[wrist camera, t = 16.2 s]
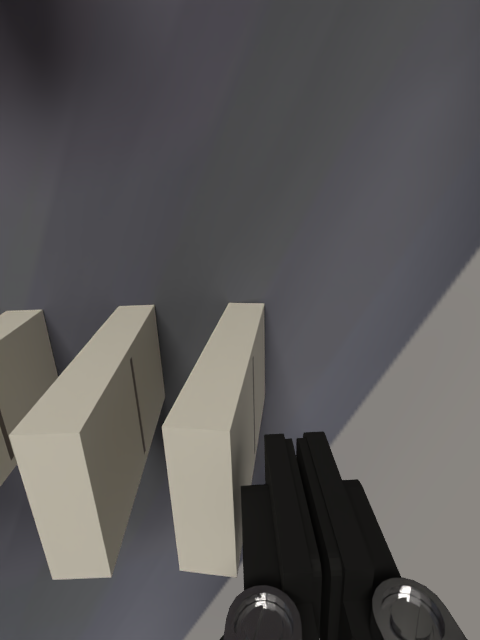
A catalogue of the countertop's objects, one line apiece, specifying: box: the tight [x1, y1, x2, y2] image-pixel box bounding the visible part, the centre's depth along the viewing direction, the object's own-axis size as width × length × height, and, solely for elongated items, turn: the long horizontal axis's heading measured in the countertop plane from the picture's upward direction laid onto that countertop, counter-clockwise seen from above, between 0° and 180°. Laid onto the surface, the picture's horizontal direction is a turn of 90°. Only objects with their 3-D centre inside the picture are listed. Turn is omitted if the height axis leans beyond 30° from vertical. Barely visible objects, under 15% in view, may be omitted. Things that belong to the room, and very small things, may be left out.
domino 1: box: [162, 303, 265, 578], centre depth 14 cm, size 2×5×9 cm, turn 2°
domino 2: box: [9, 305, 165, 580], centre depth 14 cm, size 2×5×9 cm, turn 2°
